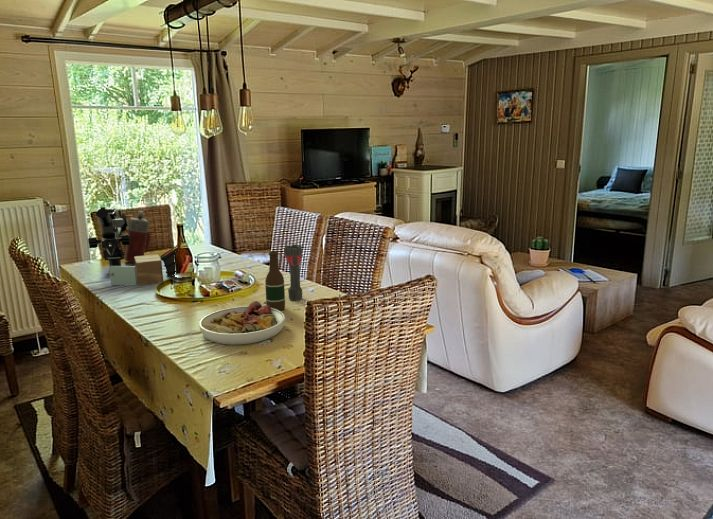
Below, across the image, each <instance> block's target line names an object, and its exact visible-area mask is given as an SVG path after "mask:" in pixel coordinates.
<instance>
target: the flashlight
mask: <svg viewBox="0 0 713 519" xmlns="http://www.w3.org/2000/svg"><path fill="white" fill-rule="evenodd" d="M283 253H284V254H283V255H284V256H285V259H286V262H287V263H288V266H289V276H290V277H289V278H290V279H289V281H290V285H289V288H287V291H288V292H287V293H288V298H289V300H290V301H292V300H293V301H294V302H299V301H300V300H303V288H302V287H301V272H300V265H301V261H302V254H303V246H302V245H300V244H299V245H297V244H292V245H285V246H284V248H283Z"/></svg>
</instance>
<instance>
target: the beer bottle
mask: <svg viewBox="0 0 713 519" xmlns="http://www.w3.org/2000/svg"><path fill="white" fill-rule="evenodd" d="M278 254H279V252H278V251H276V250H272V251H268V255H269V268H268V269H269V270H268V272H267V274H266V277H265V286H264V287H265V302H266V304H265V305H268V306H270V307H271V308H273V309H276V310H279V311H281V312H284V311H285V309H286V296H285V294H286V293H285V292H286V291H285V278H284V275H283V273H282V272H281V271H280V267H279V266H280V265H279V257H278Z"/></svg>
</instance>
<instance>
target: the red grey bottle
mask: <svg viewBox="0 0 713 519" xmlns="http://www.w3.org/2000/svg"><path fill="white" fill-rule="evenodd" d="M143 217H144V211H143V210H138V212H137V217H132V216H131V217H130V218H129V221H128V223H129V226H128V228H127V229H128V231H127V234H128V235H130V245H125V249H124V260H125V262H131V263H135V260H134V257H135V256H144V255H145V253H146V252H145V251H146V250H148V251H149V250H150V243H151V232H150V230H149V225H150V222H149V221H148V219H145V218H143Z"/></svg>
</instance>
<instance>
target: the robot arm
mask: <svg viewBox="0 0 713 519" xmlns="http://www.w3.org/2000/svg"><path fill="white" fill-rule="evenodd" d="M95 215H96V218H97V220H98V222H99V224H100V228H101V236H102V237H101V239H98V238H97V236H94V237H88V239H87V241H88V242H87V243H88V248H89V249H96V248H98V247H99V245H101V248H102V249H103V250H102V252H103V258H104V261H108V267H109V266H122V262H121V261H122V260H125V258H124V256H125V253H124V251H123V249H122V247H121V245H122V246H126V245H130V235H128V233H126V234H124V232H126V231H127V229H128V228H129V219H128V217H127V215H125V213H123V210H122V209H117V208H114V207H111V208H110V207H109V208H107V207H106V206H105V207H104V206H101V207H100V209H98V210H97V211H96V212H95ZM108 272H109V271H108ZM109 274H110V272H109Z"/></svg>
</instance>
